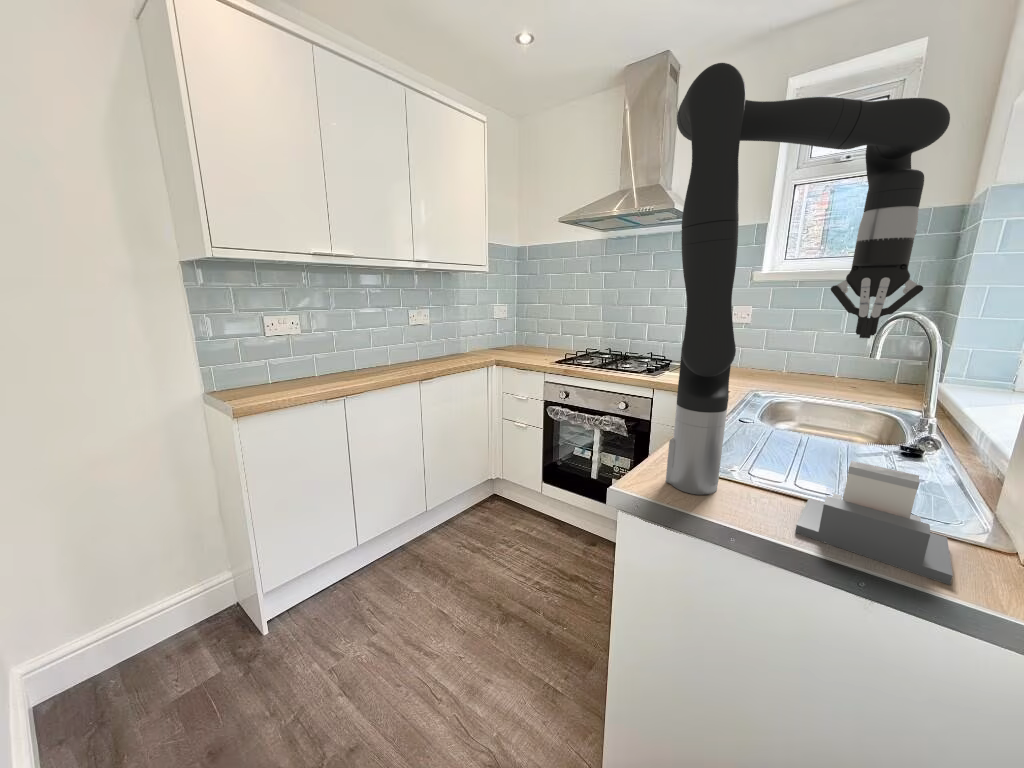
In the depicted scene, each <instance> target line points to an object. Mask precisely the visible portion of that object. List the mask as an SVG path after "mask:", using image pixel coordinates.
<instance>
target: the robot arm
mask: <svg viewBox="0 0 1024 768" xmlns="http://www.w3.org/2000/svg"><path fill="white" fill-rule="evenodd" d="M746 88H747V87H746V84H745V79H744V77H743V75H742V73H741V72H740V71H739V70H738V68H737V67H736V66H734V65H732V64H730V63H727V62H718V63H715V64H712V65H708V67H706V68H705V69H704V70H703V71H701V72H700V73H699V74H698V76H697V77H696V78H695V79H694V80H693V82H692V83H691V85H690V86H689V87H688V89H687V91H686V94H685V95H684V98H683V99H682V101H681V103H680V106H679V108H678V111H677V114H676V124H677V125H676V126H677V129H678V130H679V133H680V134H681V135H682V136H683V138H684V139H686V140H688V141H690V142H691V168H690V174H689V179H688V185H687V188H686V189H687V190H686V193H685V198H684V204H683V210H682V215H681V261H682V272H683V279H684V285H685V286H684V287H685V295H686V317H685V327H684V334H683V335H684V336H683V341H682V343H681V352H680V363H679V374H678V375H679V376H678V382H677V383H678V385H677V393H676V394H677V395H676V396H677V397H676V404H675V418H674V427H673V436H672V438H671V439H669V441H668V442H669V443H668V450H667V451H668V453H667V461H666V462H667V463H666V474H665V483H668V484H670V485H671V486H672V487H674V488H676V489H677V490H678V491H682V492H684V493H688V494H691V495H698V496H699V495H700V496H701V495H702V496H703V495H704V496H706V495H711V494H714V493H715V492H717V491H718V485H719V479H720V478H719V476H720V469H721V463H722V462H721V461H722V455H723V445H724V437H725V430H726V429H725V428H726V420H727V412H728V404H729V397H730V396H729V393H730V392H729V389H730V374H731V367H732V363H733V362H734V360H735V356H736V352H737V348H736V341H735V334H734V333H735V332H734V323H733V322H734V321H733V306H732V304H733V303H732V299H733V289H734V284H735V282H734V281H735V277H736V276H735V275H736V267H737V258H738V243H739V221H740V220H739V215H740V214H739V196H740V195H739V194H740V193H739V189H740V187H739V186H740V185H739V184H740V180H739V179H740V178H739V177H740V176H739V174H740V173H739V171H740V170H739V156H740V155H739V154H740V144H741V142H742V141H743V142H772V143H783V144H784V143H785V144H786V143H787V144H795V145H803V146H809V147H817V148H825V149H833V150H841V151H842V150H844V151H845V150H846V151H847V150H852V149H855V148H859V147H863V146H864V147H865V146H866V148H865V169H866V178H867V179H866V180H867V187H868V190H867V193H866V197H865V202H864V208H863V213H862V217H861V221H860V223H859V227H858V231H857V235H856V236H857V237H856V242H855V247H854V254H853V259H852V264H851V267H850V268H851V269H850V271H849V272H848V274H847V275H846V277H845V280H843V281H841V282H840V283H838V284H835V285H832V286H831V287H830V291H831V293H832V294H833V295H834V296H835V298H836V299H837V300H838V301H839V303H840V304H841V306H842V307H843V308H844V310H845V311H846V312H847V313H848V314H851V315H855V316H856V317H857V323H856V327H855V334H856V335H857V336H858V335H859V339H868V340H869V339H871V336H875V335H876V334H877V332H878V331H877V330H878V326H879V321H880V318H881V317H884V316H888V315H893V314H895V312H897V311H898V310H899V309H900V308H902V307H903V306H904V305H906V304H908V302H909V301H911V300H912V299H914V298H915V297H916V296H917V295H919V294H921V292H923V290H924V286H923V285H921V284H918V283H917V282H915V281H913V280H912V279H911V274H910V271H909V265H910V261H911V255H912V252H913V247H914V241H915V237H916V235H917V227H918V223H919V209H920V208H919V207H920V203H921V200H922V194H923V189H924V185H925V173H923V171H922V170H919V169H916V168H915V169H913V168H912V155H913V154H914V153H916V152H918V151H921V150H923V149H925V148H927V147H929V146H931V145H933V144H934V143H935V142H937V141H938V140H939V139H941V137H942V136H943V135H944V134H945V133H946V131H947V129H948V128H949V125H950V122H951V113H950V111H949V109H948V107H947V106H946V105H945V104H943V103H942V102H940V101H938V100H936V99H932V98H927V97H905V98H890V99H889V98H888V99H880V100H879V99H878V100H864V99H858V98H850V97H842V96H841V97H840V96H833V95H830V96H828V95H821V96H820V95H819V96H807V97H799V98H791V99H784V100H783V99H782V100H775V101H774V100H772V101H771V100H769V101H768V100H767V101H764V100H763V101H762V100H761V101H760V100H759V101H758V100H750V99H746V98H747V97H746V95H747V90H746ZM904 285H905V287H904V288H903V289H902V293H903V295H901V297H900V298H898V299H896V301H894V302H893V303H892V304H890V305H889V306H888V307H887V306H886V307H884V304H885V302H886V298H888V297H890V296H892V295H894V293H895V292H896V291H898V290H899V289H900V288H901V287H902V286H904ZM848 286H849V287H850V288H851V289H852V291H853V293H854V294H855V295H856V296H857V297H859V307H857V306H856V305H855V304H854V302H853V301H852V300H851V299H850V298H849V296H848V295H847V294H846V293H848V291H849V289H848ZM871 298H875V299H874V303H873V307H872V309H871V310H872V311H871V313H870V312H869V311H870V303H871ZM869 313H870V317H869Z"/></svg>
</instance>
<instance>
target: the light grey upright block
mask: <svg viewBox="0 0 1024 768" xmlns="http://www.w3.org/2000/svg"><path fill="white" fill-rule="evenodd" d="M846 477H847V478H846V482H845V488H844V492H843V495H842V500H843V501H847V502H851V503H854V504H858V505H862V506H865V507H869V508H872V509H876V510H880V511H883V512H887V513H891V514H894V515H898V516H902V517H905V518H909V519H910V516H911V515H912V513H913V512H912V511H913V508H914V504H915V500H916V497H917V491H918V490H919V485H920V474H915V473H914V474H913V473H909V472H905V471H900V470H896V469H891V468H887V467H883V466H877V465H873V464H869V463H868V464H867V463H864V462H860V461H859V462H858V461H855V460H850V463H849V466H848V470H847V476H846Z"/></svg>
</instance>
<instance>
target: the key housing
mask: <svg viewBox="0 0 1024 768" xmlns="http://www.w3.org/2000/svg"><path fill="white" fill-rule="evenodd" d="M930 525H931V524H930V523H927V522H923V521H922V519H921V516H918V515H914V514H911V516H910V519H909V518H905V517H902V516H898V515H894V514H891V513H887V512H883V511H880V510H876V509H872V508H869V507H865V506H862V505H858V504H854V503H851V502H847V501H843V495H841V494H837V493H833V494H832V496H829V495H827V496H826V498H825V500H824V501H820V500H817V499H813V498H808V499H807V501H806V504H805V506H804V507H803V510H802V512H801V514H800V516H799V518H798V520H797V522H796V525H795V531H794V533H795V534H798V535H801V536H804V537H807V538H811V539H813V540H816V541H819V542H820V543H821V542H822V543H823V544H824V543H825V544H827V545H829V546H833V547H836V548H839V549H842V550H845V551H848V552H852V553H855V554H857V555H860V556H862V557H866V558H869V559H872V560H875V561H878V562H880V563H884V564H887V565H888V566H889V565H890V566H893V567H896V568H899V569H901V570H905V571H908V572H911V573H914V574H915V575H916V574H917V575H919V576H922V577H926V578H928V579H931V580H934V581H937V582H940V583H943V584H946V585H950V586H951V583H952V580H953V577H954V575H953V569H952V568H953V567H952V561H951V554H950V548H949V542H948V537H946V536H944V535H940V534H937V533H933V532H931V526H930Z"/></svg>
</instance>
